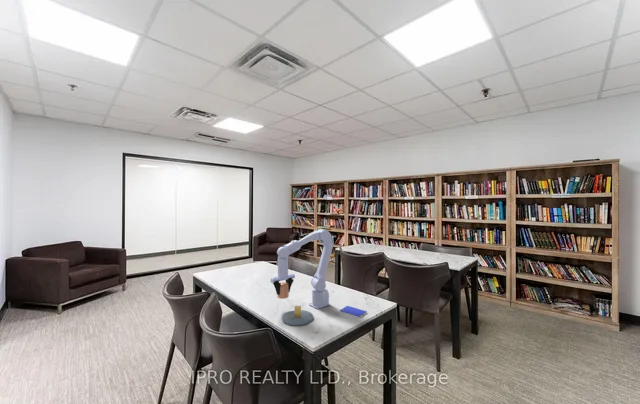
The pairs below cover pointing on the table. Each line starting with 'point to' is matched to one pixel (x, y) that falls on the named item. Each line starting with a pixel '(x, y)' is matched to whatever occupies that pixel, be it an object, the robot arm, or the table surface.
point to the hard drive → (353, 311)
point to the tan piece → (284, 290)
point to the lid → (291, 320)
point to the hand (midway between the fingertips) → (283, 293)
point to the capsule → (297, 311)
